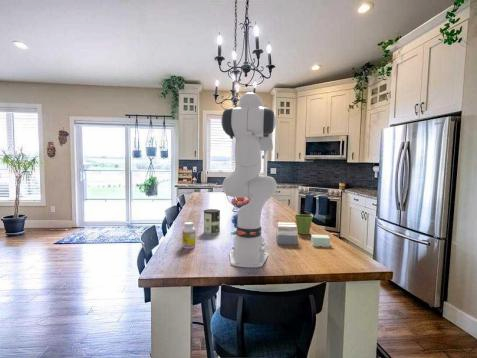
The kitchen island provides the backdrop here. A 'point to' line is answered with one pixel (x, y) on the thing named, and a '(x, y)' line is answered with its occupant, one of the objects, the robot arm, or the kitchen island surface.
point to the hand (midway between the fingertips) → (255, 158)
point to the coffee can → (211, 221)
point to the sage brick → (320, 240)
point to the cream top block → (287, 229)
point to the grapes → (235, 220)
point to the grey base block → (286, 239)
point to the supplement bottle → (188, 236)
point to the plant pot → (303, 223)
